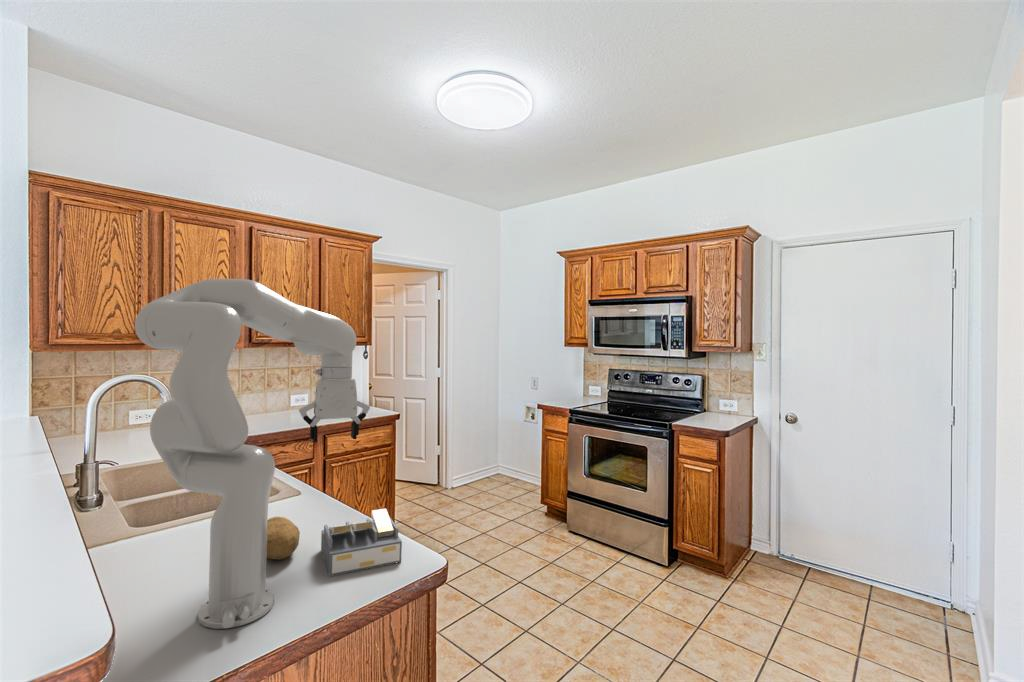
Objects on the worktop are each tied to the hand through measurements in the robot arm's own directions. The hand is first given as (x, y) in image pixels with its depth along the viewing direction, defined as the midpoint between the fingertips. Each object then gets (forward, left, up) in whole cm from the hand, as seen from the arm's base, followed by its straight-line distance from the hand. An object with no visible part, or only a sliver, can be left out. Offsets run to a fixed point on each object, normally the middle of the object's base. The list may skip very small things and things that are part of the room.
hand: (334, 439), depth 124 cm
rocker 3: (-12, -10, -19) cm, 24 cm away
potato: (-4, +13, -26) cm, 29 cm away
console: (-12, -5, -26) cm, 29 cm away
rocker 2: (-12, -5, -19) cm, 23 cm away
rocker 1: (-12, 0, -19) cm, 22 cm away
